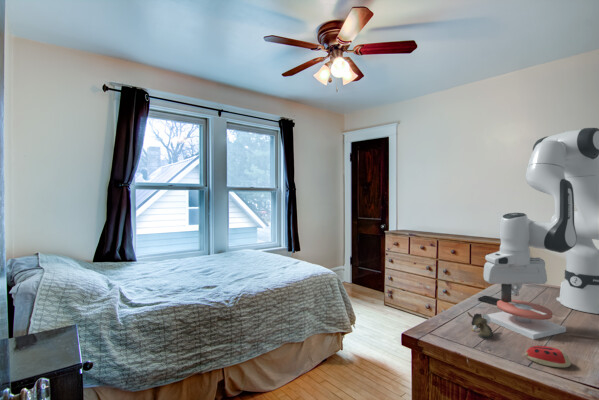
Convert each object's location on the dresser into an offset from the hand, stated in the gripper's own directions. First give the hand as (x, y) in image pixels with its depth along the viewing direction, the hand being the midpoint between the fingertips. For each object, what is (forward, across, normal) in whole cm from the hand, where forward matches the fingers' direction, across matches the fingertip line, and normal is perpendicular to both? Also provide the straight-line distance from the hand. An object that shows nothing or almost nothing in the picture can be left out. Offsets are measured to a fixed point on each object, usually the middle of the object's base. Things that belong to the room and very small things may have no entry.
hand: (514, 295), depth 105 cm
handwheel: (+3, +1, +6) cm, 7 cm away
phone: (+9, -4, -15) cm, 18 cm away
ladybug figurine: (+8, +10, +29) cm, 32 cm away
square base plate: (+8, +1, +6) cm, 10 cm away
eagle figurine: (+8, +19, +13) cm, 24 cm away
